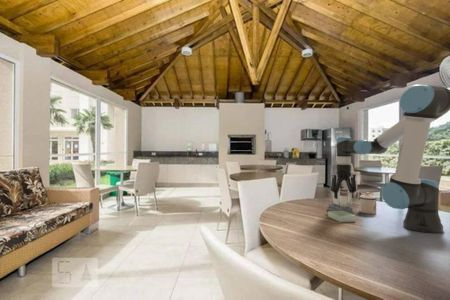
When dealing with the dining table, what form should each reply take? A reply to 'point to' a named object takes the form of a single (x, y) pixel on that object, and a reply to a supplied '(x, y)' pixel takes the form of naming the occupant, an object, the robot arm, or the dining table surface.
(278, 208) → the dining table surface
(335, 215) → the parts tray
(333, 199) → the fuse
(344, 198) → the cylinder
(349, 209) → the fuse block
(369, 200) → the teacup with lid
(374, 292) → the dining table surface
